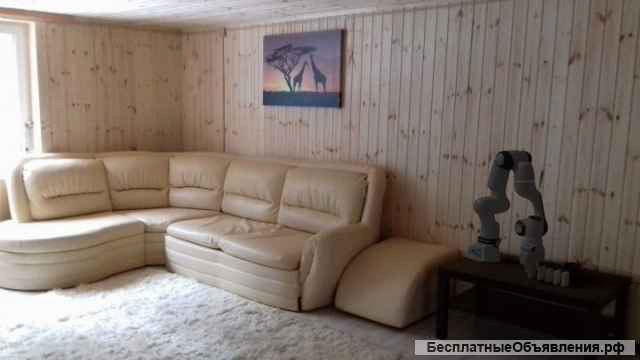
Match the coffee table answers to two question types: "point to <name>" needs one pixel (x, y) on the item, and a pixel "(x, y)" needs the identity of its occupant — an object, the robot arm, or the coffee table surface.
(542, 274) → the domino
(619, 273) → the coffee table surface
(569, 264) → the box
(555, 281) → the domino
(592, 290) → the coffee table surface
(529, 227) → the robot arm
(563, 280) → the domino
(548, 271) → the domino
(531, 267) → the domino
